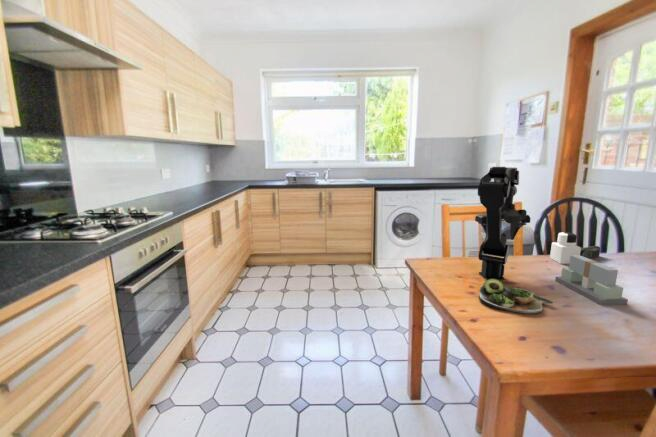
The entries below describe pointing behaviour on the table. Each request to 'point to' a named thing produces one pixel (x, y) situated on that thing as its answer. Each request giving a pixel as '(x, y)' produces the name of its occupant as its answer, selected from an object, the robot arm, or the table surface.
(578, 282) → the display stand
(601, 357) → the table surface
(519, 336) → the table surface
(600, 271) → the banded grey bar
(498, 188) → the robot arm
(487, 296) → the salad plate
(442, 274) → the table surface
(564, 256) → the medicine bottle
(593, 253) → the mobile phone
